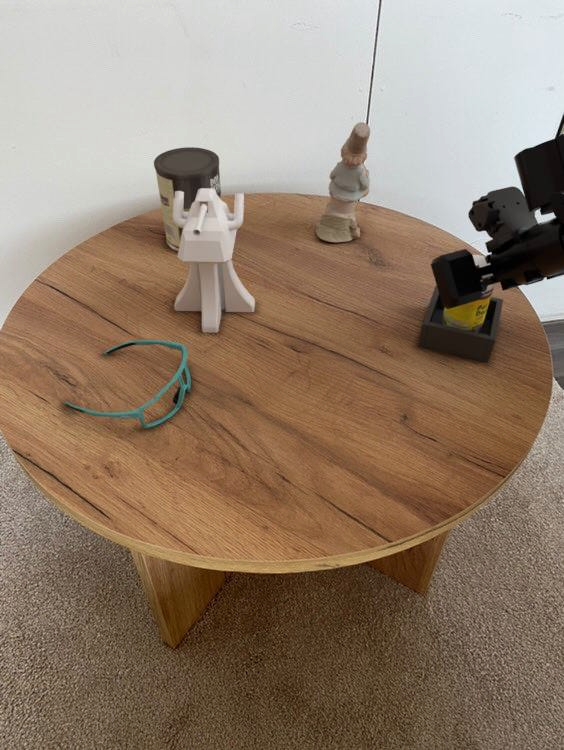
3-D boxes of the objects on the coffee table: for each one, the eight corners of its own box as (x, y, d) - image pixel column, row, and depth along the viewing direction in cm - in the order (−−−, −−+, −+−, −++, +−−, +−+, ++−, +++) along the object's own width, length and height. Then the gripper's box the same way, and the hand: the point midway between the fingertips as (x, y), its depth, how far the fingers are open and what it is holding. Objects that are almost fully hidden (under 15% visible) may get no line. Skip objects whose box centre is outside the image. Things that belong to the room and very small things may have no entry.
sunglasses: (166, 443, 69) (156, 414, 65) (60, 423, 73) (45, 395, 70) (211, 365, 78) (204, 336, 75) (115, 352, 83) (104, 324, 79)
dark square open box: (496, 321, 85) (503, 299, 82) (488, 362, 79) (495, 340, 76) (430, 306, 88) (435, 284, 85) (417, 345, 81) (422, 323, 79)
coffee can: (235, 231, 104) (230, 153, 94) (206, 260, 97) (197, 179, 87) (186, 218, 107) (176, 142, 97) (154, 245, 100) (140, 166, 90)
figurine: (357, 249, 99) (370, 131, 85) (310, 241, 101) (314, 124, 87) (368, 224, 105) (381, 109, 91) (323, 216, 107) (329, 103, 93)
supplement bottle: (472, 342, 79) (490, 279, 72) (434, 328, 81) (448, 265, 74) (487, 321, 82) (506, 259, 75) (450, 308, 85) (465, 246, 78)
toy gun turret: (167, 336, 83) (146, 223, 70) (182, 282, 92) (166, 173, 80) (251, 338, 82) (245, 224, 70) (257, 283, 92) (253, 175, 79)
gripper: (593, 162, 66) (504, 209, 81) (457, 193, 60) (388, 238, 75) (621, 257, 66) (527, 286, 81) (487, 296, 61) (413, 320, 76)
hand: (465, 280), depth 78 cm, fingers closed on supplement bottle, 5 cm apart
